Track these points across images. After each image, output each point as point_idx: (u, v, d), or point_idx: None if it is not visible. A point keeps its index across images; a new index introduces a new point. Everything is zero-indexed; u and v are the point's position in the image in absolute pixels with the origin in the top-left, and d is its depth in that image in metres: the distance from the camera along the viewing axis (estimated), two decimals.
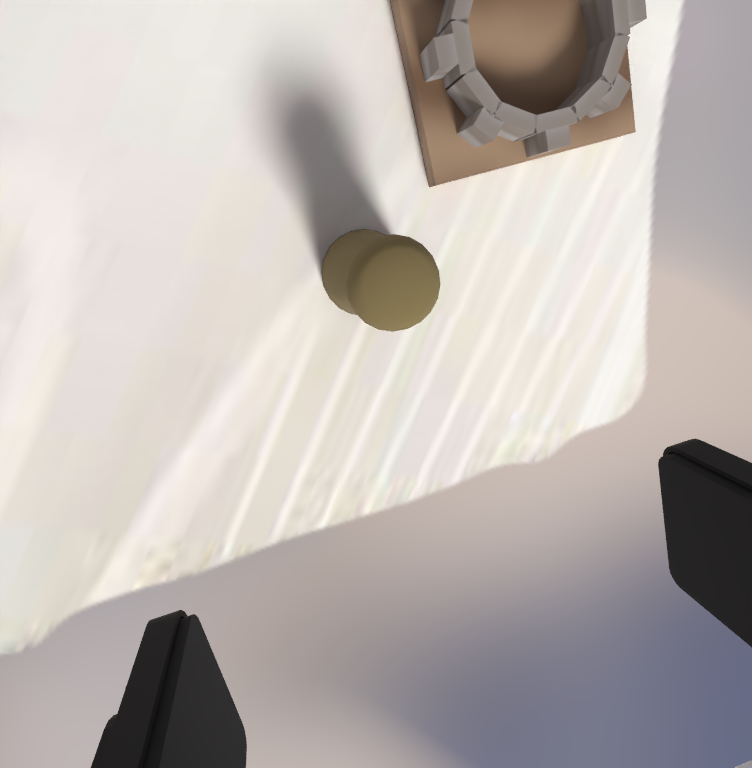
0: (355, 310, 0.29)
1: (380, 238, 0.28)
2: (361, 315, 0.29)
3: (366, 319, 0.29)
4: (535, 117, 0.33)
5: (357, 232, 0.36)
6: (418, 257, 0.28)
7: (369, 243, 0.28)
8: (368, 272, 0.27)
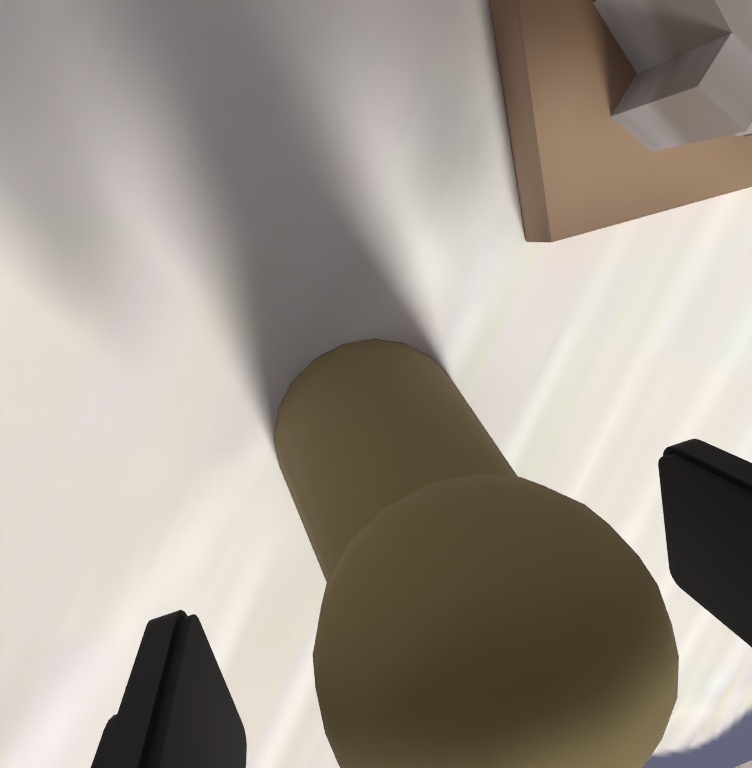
0: None
1: (457, 531, 0.07)
2: None
3: None
4: None
5: (358, 354, 0.15)
6: (625, 632, 0.06)
7: (411, 549, 0.07)
8: (411, 713, 0.06)
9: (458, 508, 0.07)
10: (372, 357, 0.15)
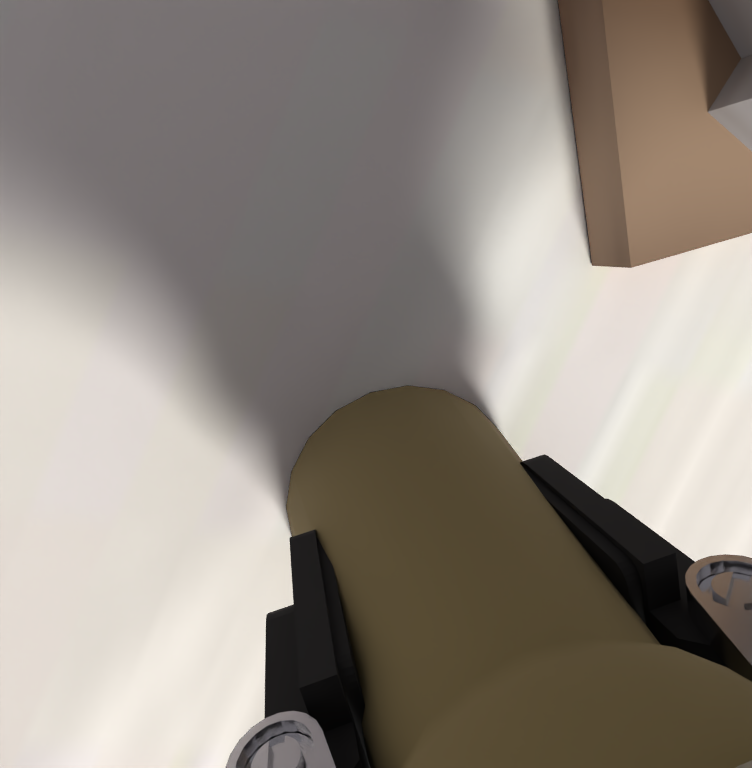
0: None
1: None
2: None
3: None
4: None
5: (391, 408, 0.12)
6: None
7: None
8: None
9: (616, 752, 0.04)
10: (409, 412, 0.12)
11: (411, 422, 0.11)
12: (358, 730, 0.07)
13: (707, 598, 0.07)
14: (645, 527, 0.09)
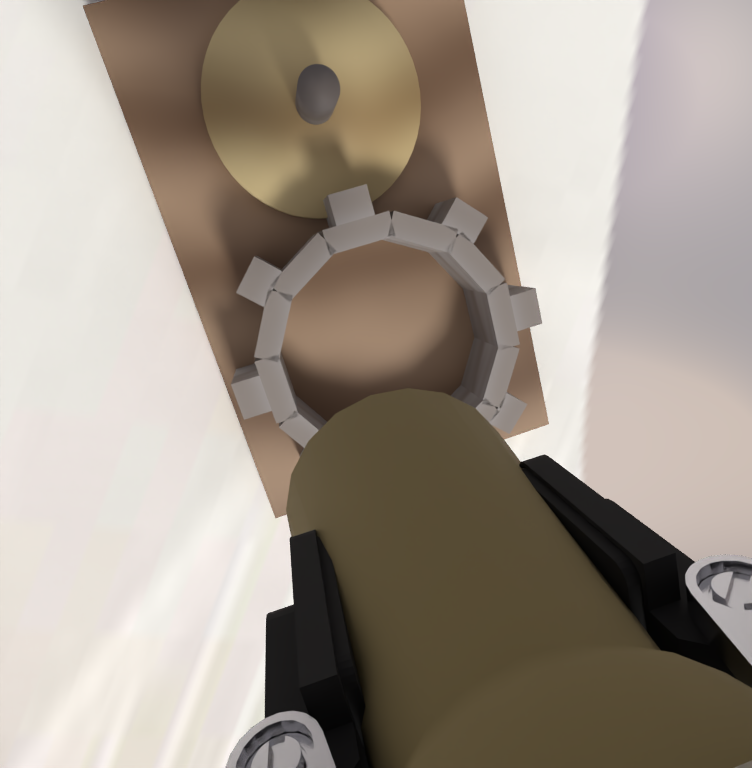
0: None
1: None
2: None
3: None
4: None
5: (391, 410, 0.12)
6: None
7: None
8: None
9: (615, 759, 0.04)
10: (409, 415, 0.12)
11: (411, 425, 0.11)
12: (358, 730, 0.07)
13: (707, 598, 0.07)
14: (645, 527, 0.09)
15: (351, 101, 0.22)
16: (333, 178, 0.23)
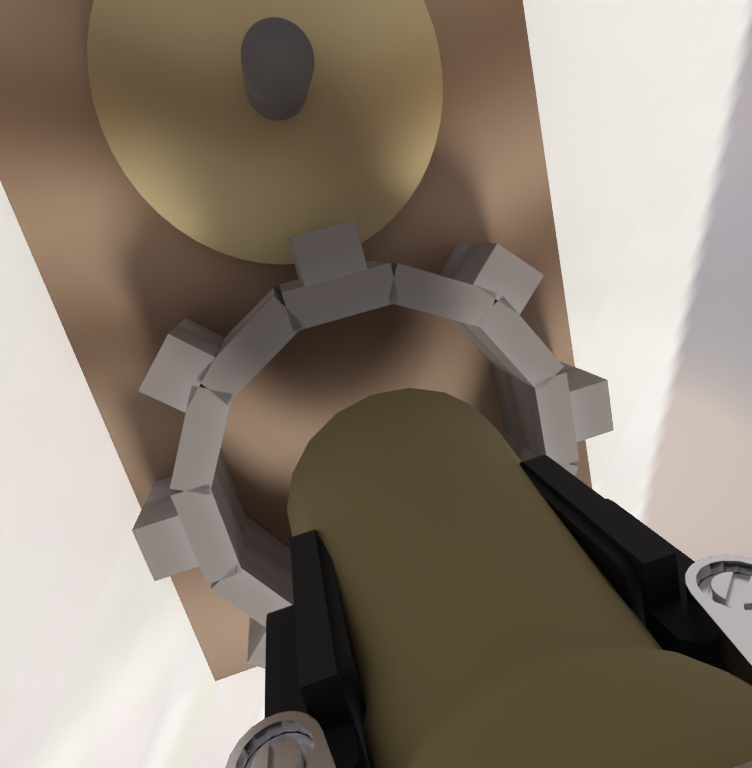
0: None
1: None
2: None
3: None
4: None
5: (392, 410, 0.12)
6: None
7: None
8: None
9: (618, 759, 0.04)
10: (410, 415, 0.12)
11: (412, 425, 0.11)
12: (358, 730, 0.07)
13: (707, 598, 0.07)
14: (645, 527, 0.09)
15: (335, 85, 0.14)
16: (304, 204, 0.15)
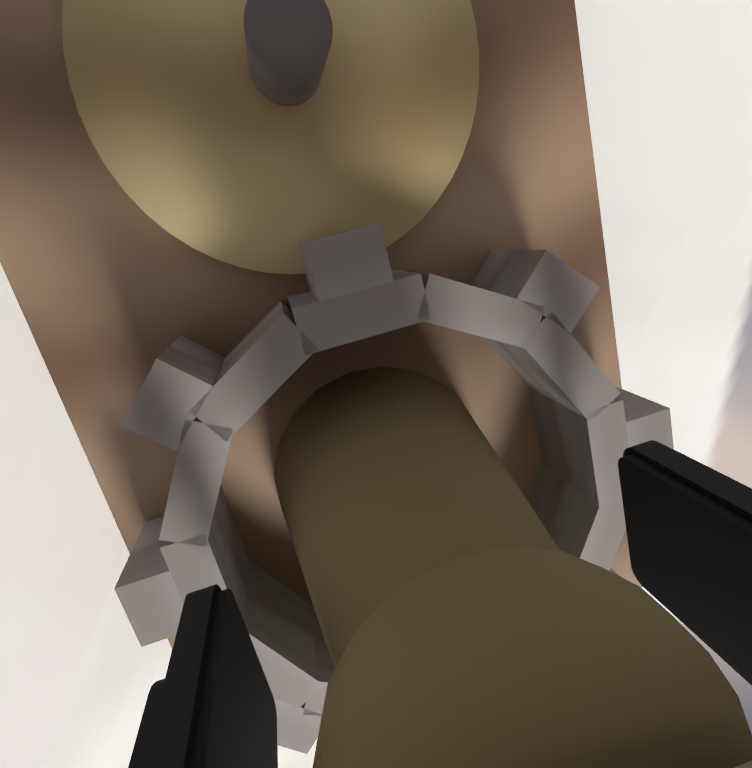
0: None
1: (490, 639, 0.05)
2: None
3: None
4: None
5: (364, 384, 0.14)
6: None
7: (432, 661, 0.05)
8: None
9: (489, 604, 0.06)
10: (380, 388, 0.13)
11: (380, 396, 0.13)
12: None
13: None
14: None
15: (354, 65, 0.12)
16: (317, 205, 0.13)
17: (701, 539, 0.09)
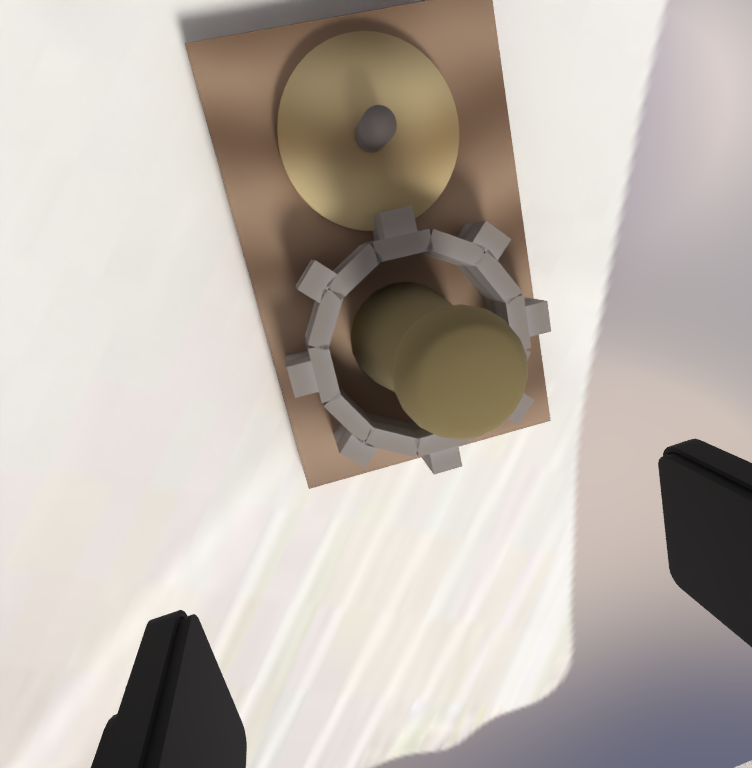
0: (406, 410, 0.20)
1: (447, 311, 0.20)
2: (415, 418, 0.20)
3: (422, 424, 0.20)
4: (416, 441, 0.28)
5: (400, 286, 0.28)
6: (503, 342, 0.19)
7: (431, 318, 0.20)
8: (430, 362, 0.19)
9: (448, 307, 0.20)
10: (407, 287, 0.28)
11: (408, 289, 0.27)
12: None
13: None
14: None
15: (401, 134, 0.26)
16: (381, 198, 0.27)
17: None
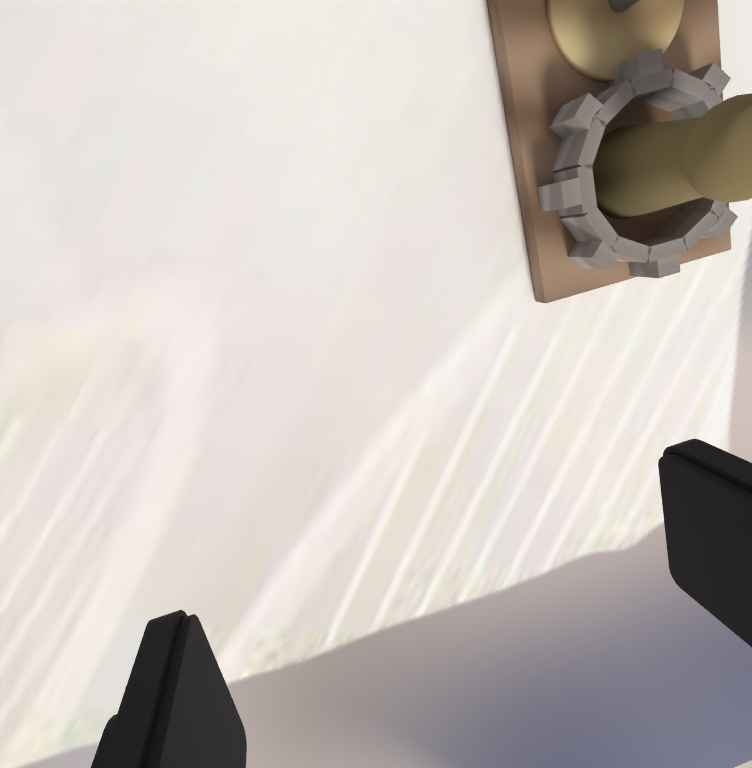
0: (705, 175, 0.28)
1: (742, 95, 0.27)
2: (713, 180, 0.27)
3: (719, 184, 0.27)
4: (648, 248, 0.35)
5: (633, 125, 0.35)
6: None
7: (729, 101, 0.27)
8: (738, 127, 0.26)
9: (738, 95, 0.27)
10: (641, 124, 0.35)
11: None
12: None
13: None
14: None
15: None
16: (623, 50, 0.34)
17: None
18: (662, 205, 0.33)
